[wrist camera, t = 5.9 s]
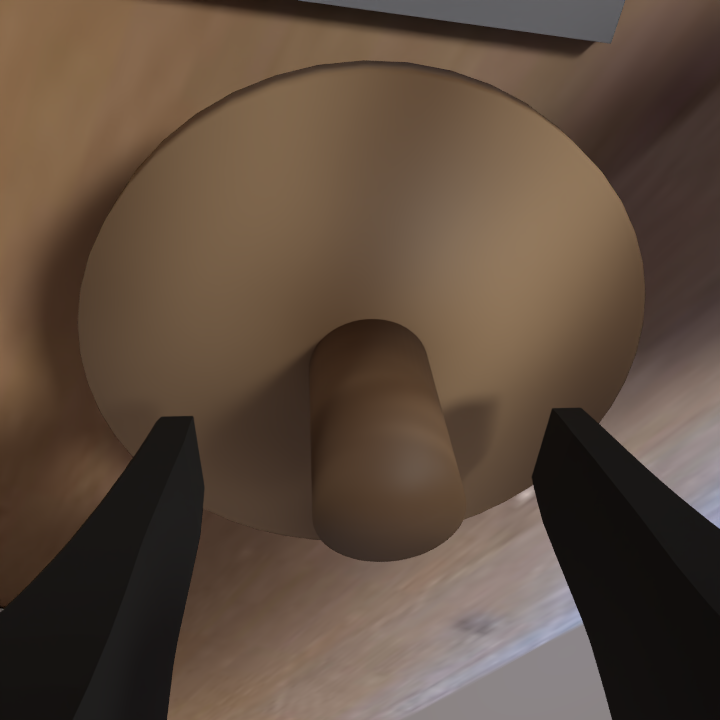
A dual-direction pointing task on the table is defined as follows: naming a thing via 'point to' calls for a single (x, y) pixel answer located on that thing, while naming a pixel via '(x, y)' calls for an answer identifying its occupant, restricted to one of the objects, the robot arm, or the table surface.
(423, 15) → the mat
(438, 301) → the lid
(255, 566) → the table surface
